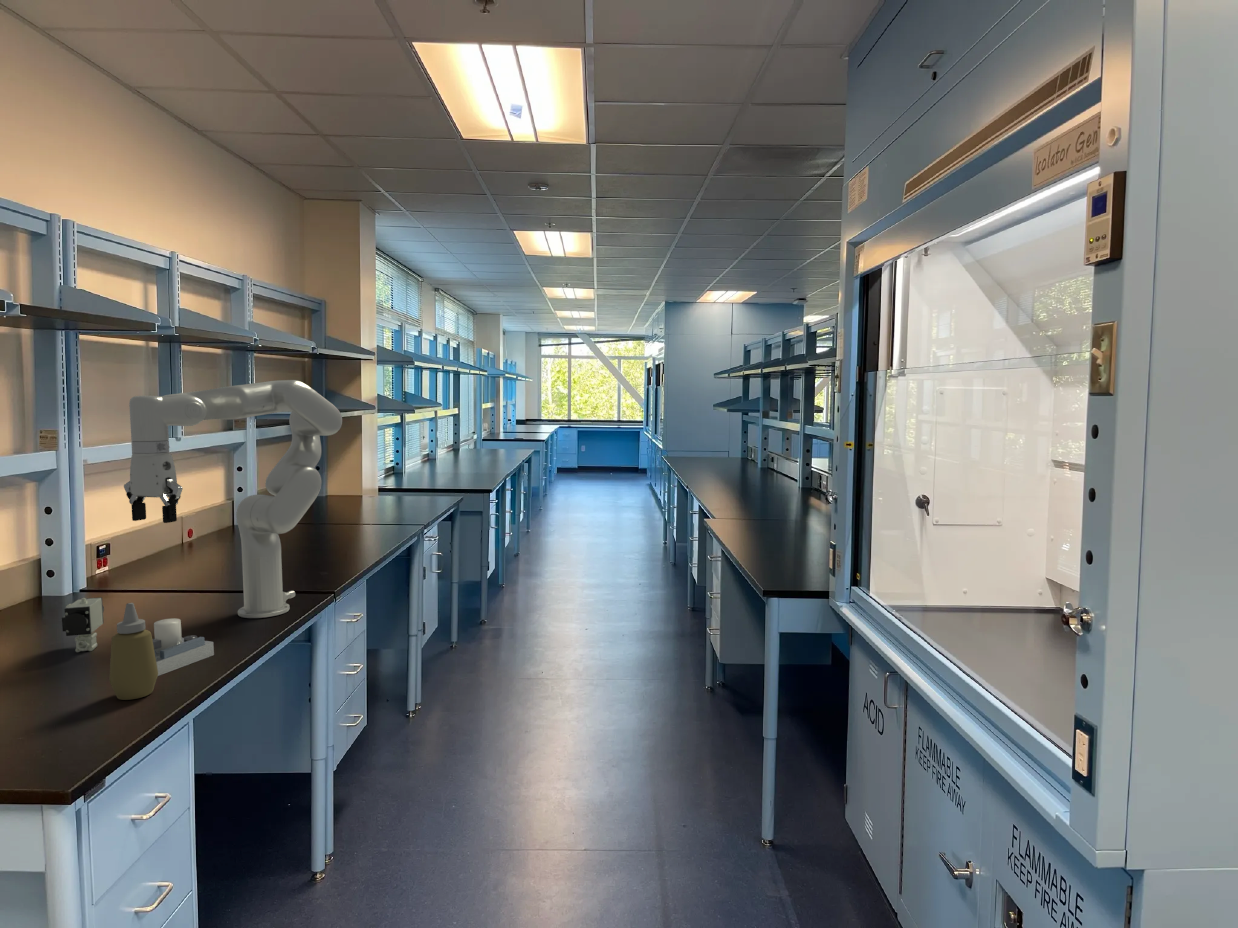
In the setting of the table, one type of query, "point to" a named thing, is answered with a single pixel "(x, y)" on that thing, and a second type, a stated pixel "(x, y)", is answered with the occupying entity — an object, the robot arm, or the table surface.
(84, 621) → the pneumatic valve
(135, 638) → the squeeze bottle
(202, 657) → the grey fixture tray
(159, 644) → the white rounded cylinder
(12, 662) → the table surface
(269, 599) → the robot arm
